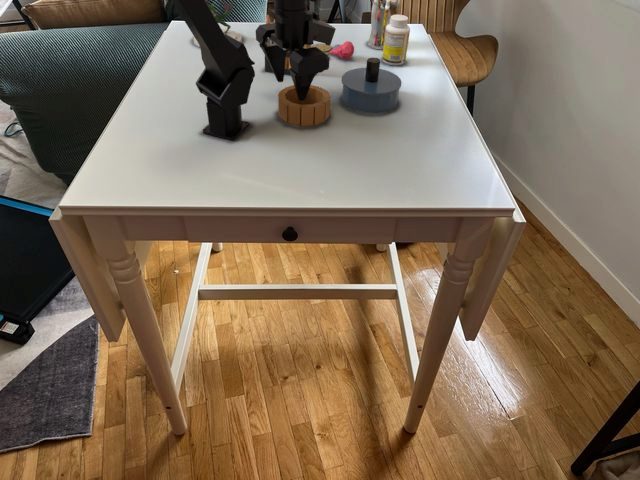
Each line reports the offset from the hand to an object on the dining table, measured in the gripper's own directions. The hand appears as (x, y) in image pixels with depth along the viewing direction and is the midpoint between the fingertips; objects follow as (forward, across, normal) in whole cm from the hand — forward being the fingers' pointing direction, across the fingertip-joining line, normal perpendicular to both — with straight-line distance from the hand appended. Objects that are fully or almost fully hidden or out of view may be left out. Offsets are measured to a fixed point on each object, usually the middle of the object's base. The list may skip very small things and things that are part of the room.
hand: (291, 90), depth 95 cm
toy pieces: (+4, +20, -22) cm, 30 cm away
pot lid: (-1, -5, -15) cm, 16 cm away
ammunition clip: (+4, +15, -7) cm, 17 cm away
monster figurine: (+4, +40, 0) cm, 40 cm away
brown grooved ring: (+4, -4, -1) cm, 6 cm away
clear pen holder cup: (+4, +20, -36) cm, 42 cm away
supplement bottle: (+4, +10, -33) cm, 34 cm away
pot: (+4, -5, -16) cm, 17 cm away
